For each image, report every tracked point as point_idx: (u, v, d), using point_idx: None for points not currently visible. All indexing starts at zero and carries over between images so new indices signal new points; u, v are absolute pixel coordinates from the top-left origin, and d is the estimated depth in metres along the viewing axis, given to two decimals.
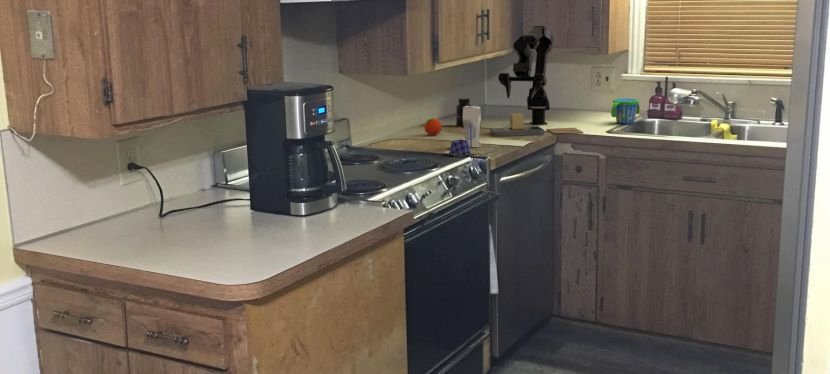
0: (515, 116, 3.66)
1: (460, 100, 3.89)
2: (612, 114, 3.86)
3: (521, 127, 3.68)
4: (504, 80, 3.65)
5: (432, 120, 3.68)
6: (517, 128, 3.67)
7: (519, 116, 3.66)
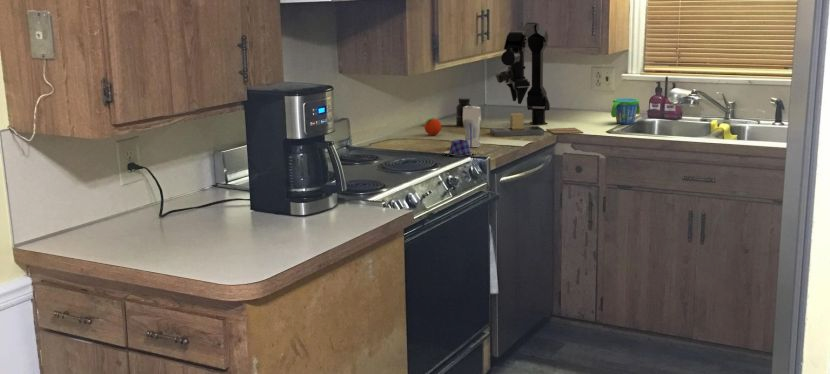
0: (515, 116, 3.66)
1: (460, 100, 3.89)
2: (612, 114, 3.86)
3: (521, 127, 3.68)
4: None
5: (432, 120, 3.68)
6: (517, 128, 3.67)
7: (519, 116, 3.66)
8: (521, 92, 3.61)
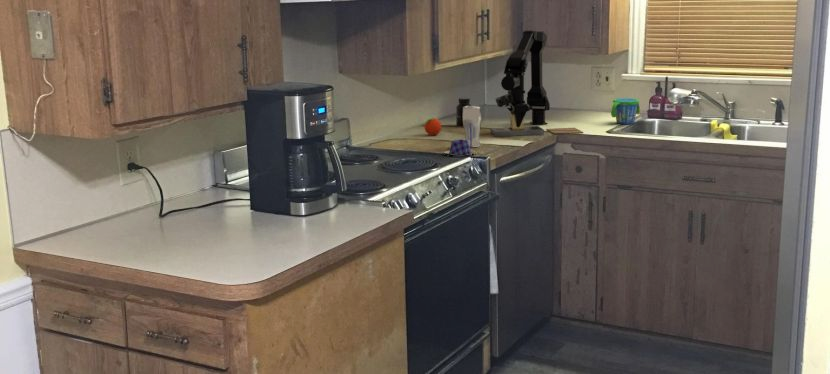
0: None
1: (460, 100, 3.89)
2: (612, 114, 3.86)
3: (521, 127, 3.68)
4: None
5: (432, 120, 3.68)
6: (517, 128, 3.67)
7: None
8: (520, 116, 3.65)
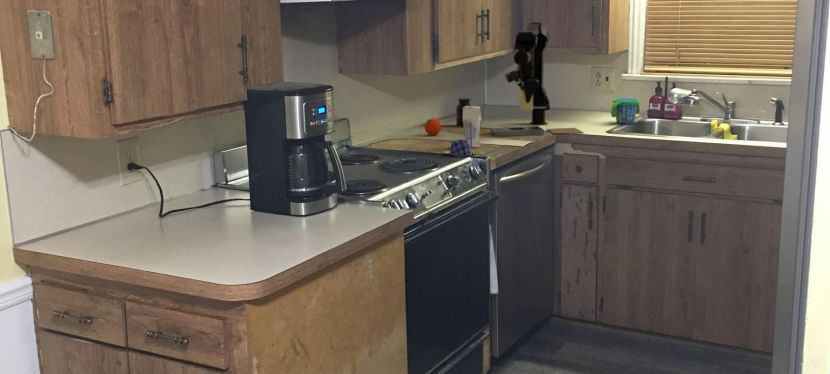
0: (524, 91, 3.65)
1: (460, 100, 3.89)
2: (612, 114, 3.86)
3: (531, 103, 3.66)
4: None
5: (432, 120, 3.68)
6: (526, 104, 3.66)
7: None
8: (529, 91, 3.64)
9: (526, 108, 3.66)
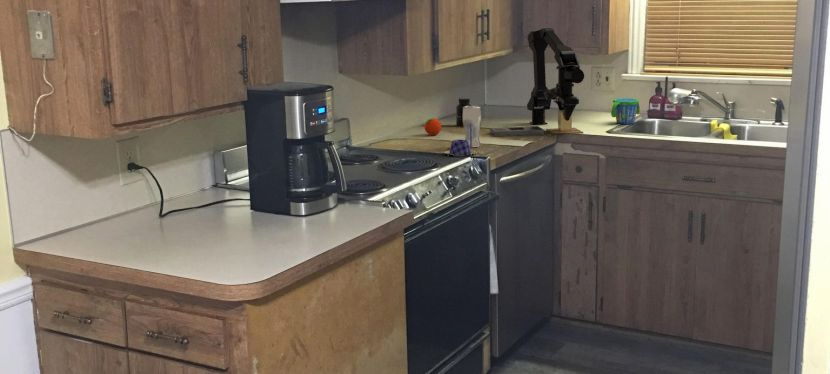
0: (563, 113, 3.69)
1: (460, 100, 3.89)
2: (612, 114, 3.86)
3: (570, 124, 3.70)
4: (555, 102, 3.75)
5: (432, 120, 3.68)
6: (565, 125, 3.70)
7: None
8: (569, 109, 3.66)
9: (565, 129, 3.70)
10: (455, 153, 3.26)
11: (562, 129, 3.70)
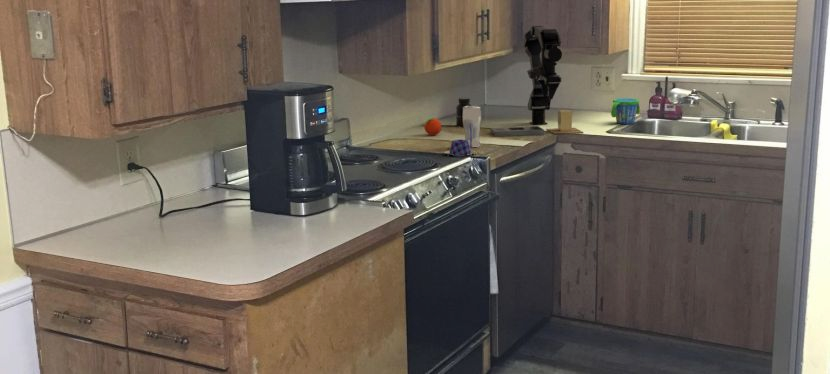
0: (563, 113, 3.69)
1: (460, 100, 3.89)
2: (612, 114, 3.86)
3: (569, 124, 3.70)
4: (537, 81, 3.81)
5: (432, 120, 3.68)
6: (565, 125, 3.70)
7: (567, 113, 3.69)
8: (552, 88, 3.70)
9: (565, 129, 3.70)
10: (456, 153, 3.26)
11: (562, 129, 3.70)
